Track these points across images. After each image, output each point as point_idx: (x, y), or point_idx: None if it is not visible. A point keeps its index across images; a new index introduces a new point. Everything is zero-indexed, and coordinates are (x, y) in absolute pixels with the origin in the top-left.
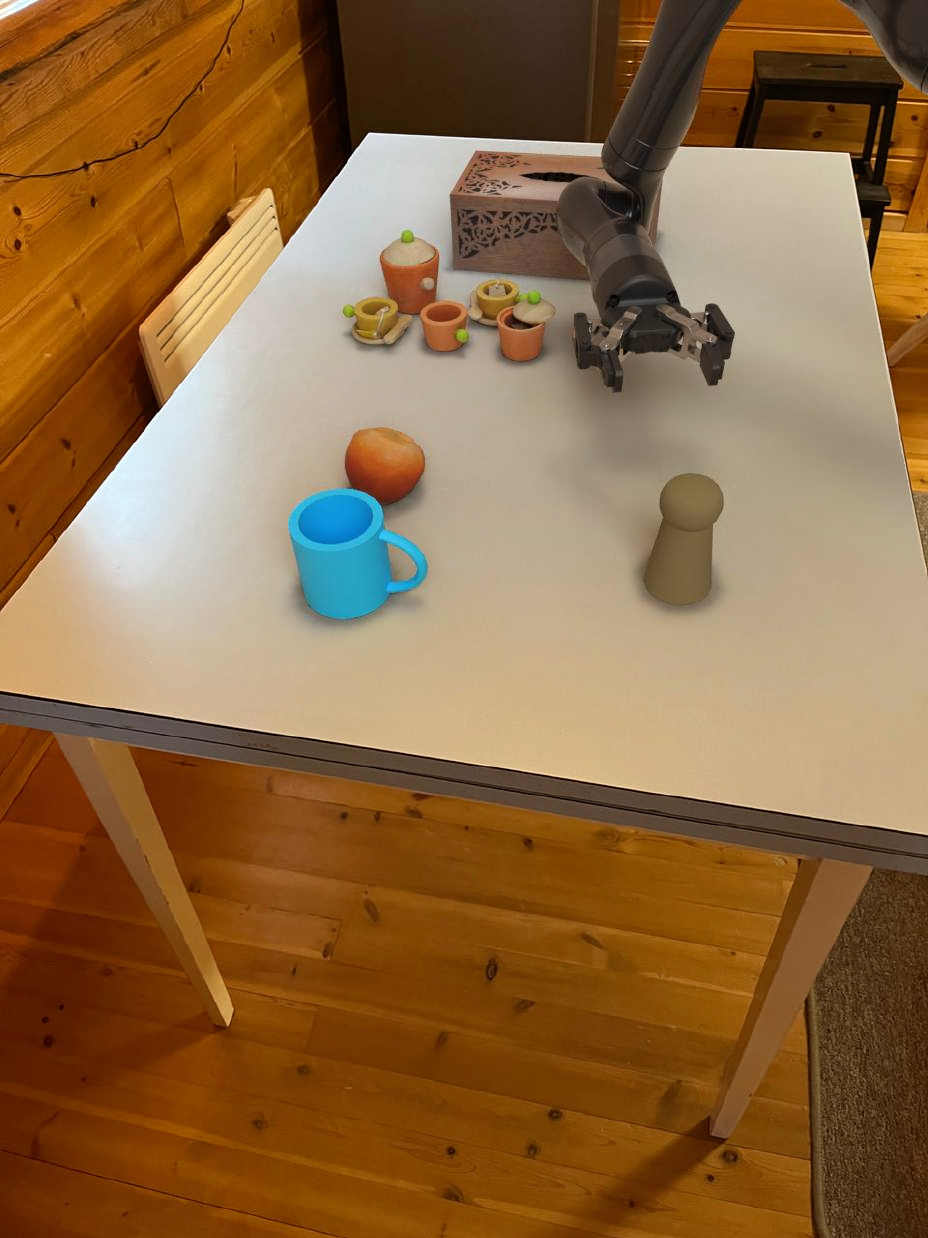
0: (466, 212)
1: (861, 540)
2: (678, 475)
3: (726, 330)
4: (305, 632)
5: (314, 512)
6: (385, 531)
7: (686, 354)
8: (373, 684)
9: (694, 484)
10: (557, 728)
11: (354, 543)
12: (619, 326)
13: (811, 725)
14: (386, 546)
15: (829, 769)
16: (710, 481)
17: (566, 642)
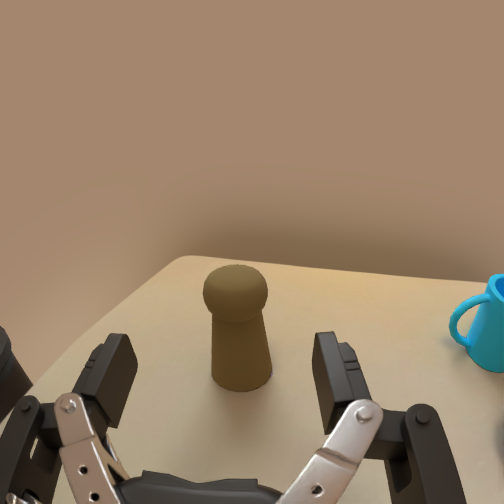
0: None
1: (73, 380)
2: (244, 290)
3: (25, 408)
4: None
5: None
6: (487, 296)
7: (123, 469)
8: (438, 298)
9: (233, 273)
10: (335, 283)
11: (493, 278)
12: (325, 480)
13: (198, 282)
14: (484, 318)
15: (202, 268)
16: (214, 279)
17: (336, 324)
